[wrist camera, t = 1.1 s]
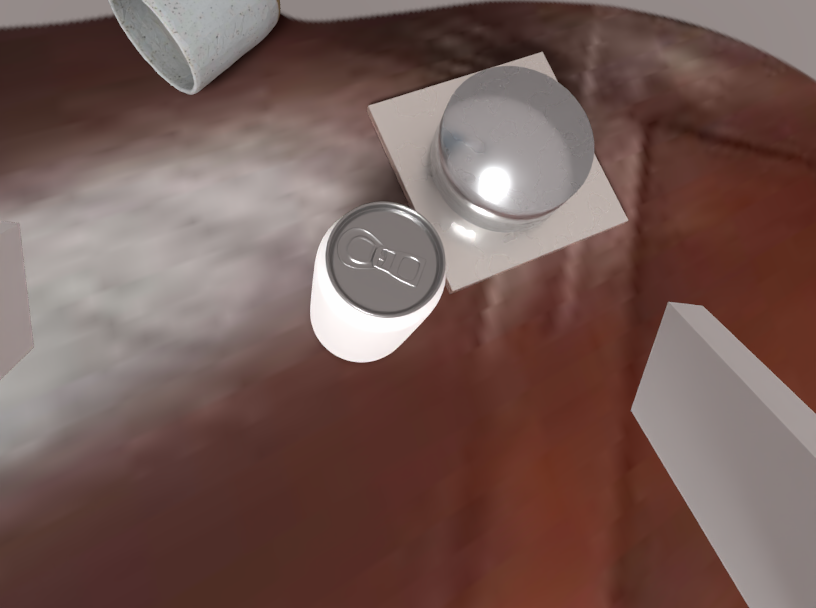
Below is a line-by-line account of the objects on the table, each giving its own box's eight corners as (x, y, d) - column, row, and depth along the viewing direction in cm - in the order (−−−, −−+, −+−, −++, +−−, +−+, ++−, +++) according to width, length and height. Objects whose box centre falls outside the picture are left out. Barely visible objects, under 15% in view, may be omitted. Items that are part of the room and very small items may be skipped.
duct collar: (366, 111, 44) (375, 71, 40) (538, 58, 48) (564, 15, 43) (449, 294, 42) (468, 274, 38) (622, 224, 46) (659, 198, 41)
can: (331, 250, 42) (346, 171, 30) (423, 287, 42) (472, 223, 31) (293, 341, 40) (293, 295, 28) (390, 378, 40) (428, 348, 29)
